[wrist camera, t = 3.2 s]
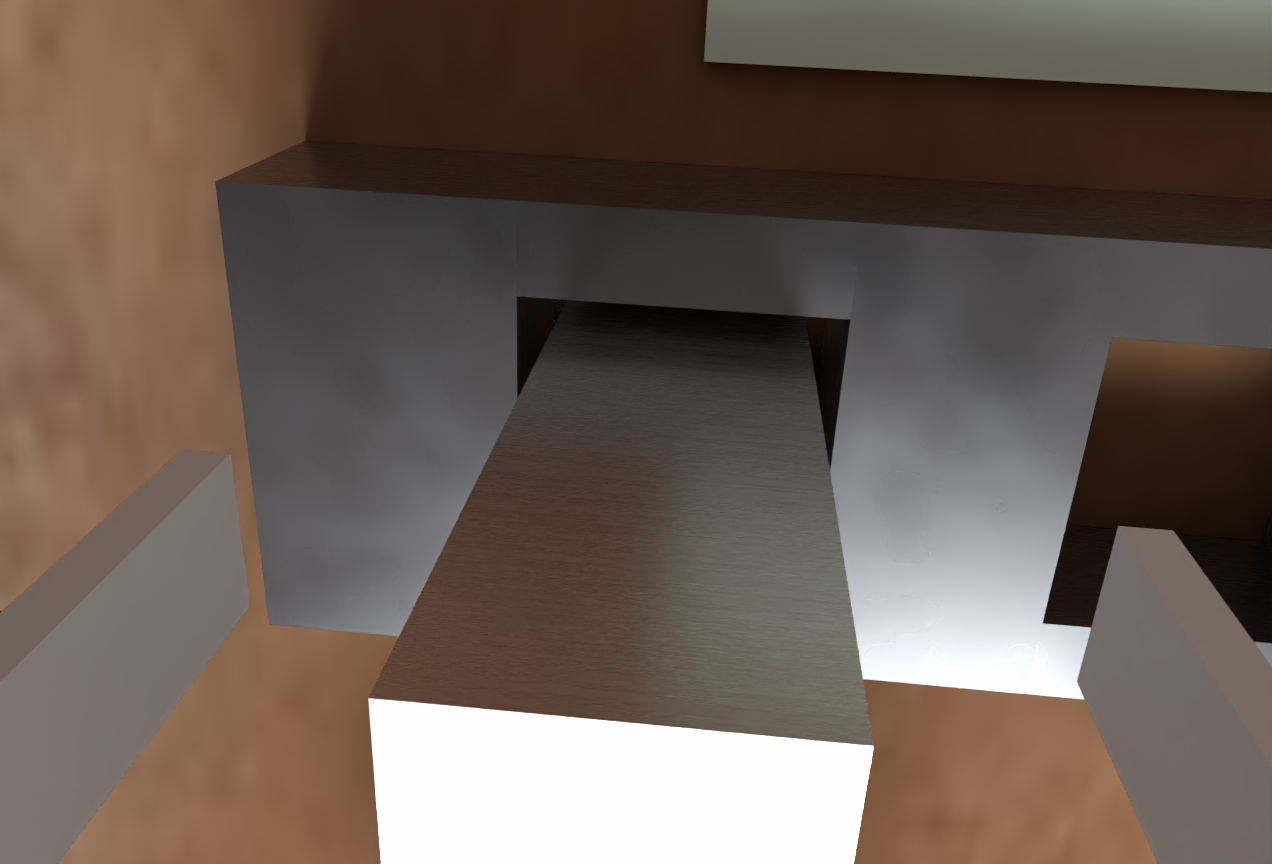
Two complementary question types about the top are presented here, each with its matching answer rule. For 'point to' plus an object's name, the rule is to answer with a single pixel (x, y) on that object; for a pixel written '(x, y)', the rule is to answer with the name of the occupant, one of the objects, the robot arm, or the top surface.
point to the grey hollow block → (742, 282)
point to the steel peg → (636, 617)
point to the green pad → (1007, 39)
